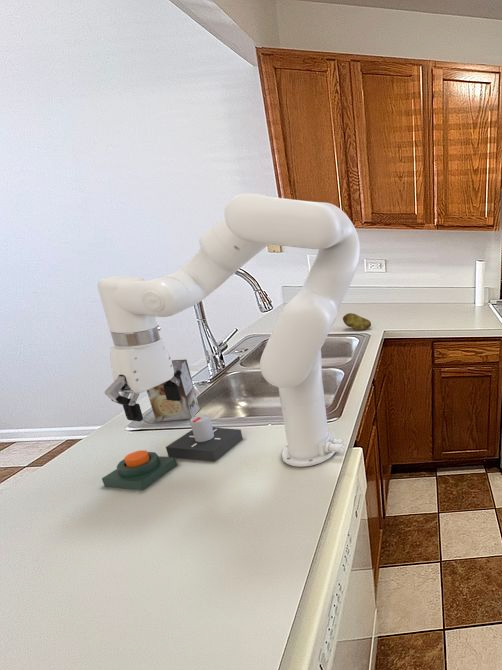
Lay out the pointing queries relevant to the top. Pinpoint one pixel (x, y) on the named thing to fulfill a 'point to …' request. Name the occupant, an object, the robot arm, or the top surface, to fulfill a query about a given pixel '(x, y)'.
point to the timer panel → (205, 445)
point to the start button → (136, 458)
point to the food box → (175, 409)
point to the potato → (356, 321)
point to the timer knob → (202, 428)
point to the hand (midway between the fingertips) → (155, 409)
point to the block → (139, 473)
